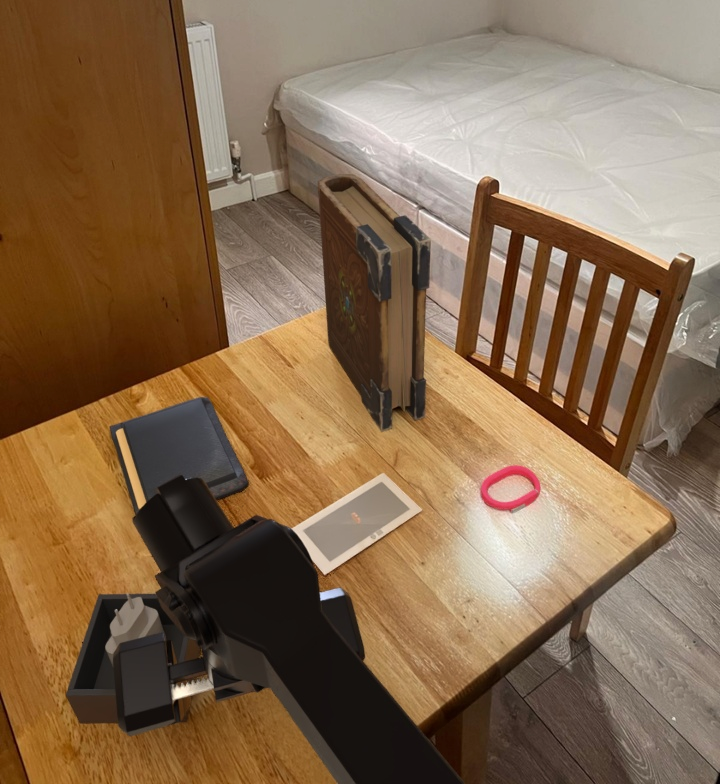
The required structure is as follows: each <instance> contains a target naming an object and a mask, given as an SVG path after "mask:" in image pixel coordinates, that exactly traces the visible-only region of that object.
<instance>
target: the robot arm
mask: <svg viewBox="0 0 720 784" xmlns="http://www.w3.org/2000/svg"><path fill="white" fill-rule="evenodd" d="M131 521H132V524H133V525H134V528H135V529H136V531H137V533H138V534H139V536H140V538H141V539H142V541H143V544H144V545H145V547H146V548H147V550H148V552H149V554H150V555H151V557H152V558H153V560H154V562H155V564H156V566H157V567H158V569H159V571H160V572H158V573H156V574H155V575H154V578H155V580H156V582H157V585H158V586H159V588H160V589H158V590H156V591H155V592H154V594H156V595H157V598H158V600H159V603H160V605H161V607H162V609H163V610H164V611H165V613H166V614H167V615H168V616H169V618H170V619H171V620H172V621H173V623H174V624H175V625H176V626H177V628H178V629H179V630H180V631H181V633H182V634H183V635H184V636H185V637H186V638H189V639H193V640H194V641H195V643H196V645H197V646H198V647H200V646H201V649H200V650H201V654H202V656H199V658H196V659H192V660H189V661H185V662H181V663H177V660H176V657H175V653H174V649H173V645H172V642H171V640H167V641H166V635H165V632H161V633H158V634H154V635H150V636H146V637H142V638H138V639H134V640H130V641H126V642H122V643H120V644H119V645H118V647H117V648H116V650H115V651H114V653H113V668H114V682H115V695H116V709H117V719H118V723H117V725H118V728H119V729H120V730H121V731H122V732H123V733H125V734H126V735H127V736H129V737H134V736H137V735H140V734H143V733H147V732H152V731H155V730H159V729H162V728H164V727H165V728H166V727H168V726H172V725H175V724H178V723H179V724H180V723H182V722H181V720H182V719H183V717H184V715H185V714H186V712H187V710H188V708H189V707H191V705H192V697H193V696H197V695H200V694H203V693H207V692H210V691H214V692H213V693H214V699H215V703H217V704H218V703H221V702H223V701H227V700H231V699H234V698H238V697H241V696H246V695H248V694H252V693H257V694H258V693H260V692H262V691H263V690H266V689H269V690H271V692H272V693H273V695H274V696H275V697H276V698H277V700H278V701H279V702H280V704H281V705H282V706H283V708H284V709H285V711H286V712H287V714H288V715H289V716H290V718H291V719H292V721H293V722H294V723H295V725H296V727H297V728H298V729H299V731H300V732H301V734H302V735H303V737H304V738H305V740H306V741H307V742H308V744H309V745H310V747H311V748H312V749H313V751H314V752H315V754H316V755H317V757H318V758H319V759H320V761H321V763H322V764H323V765H324V767H325V768H326V770H327V772H329V773H330V775H331V777H332V778H333V779H334V781H335V782H336V783H337V784H466V782H465V781H464V780H463V778H462V777H461V776H460V775H459V774H458V773H457V772H456V770H455V769H454V768H453V767H452V766H451V765H450V763H449V762H448V761H447V759H446V758H445V757H444V756H443V755H442V753H441V752H440V751H439V750H438V749H437V748H436V746H435V745H434V744H433V743H432V742H431V740H430V739H429V738H428V737H427V736H426V734H425V733H424V732H423V731H422V729H420V727H419V726H418V725H417V724H416V722H414V720H413V719H412V718H411V717H410V715H409V714H408V713H407V712H406V711H405V709H404V708H403V707H402V706H401V705H400V703H399V702H398V701H397V700H396V699H395V697H393V695H392V693H390V692H389V690H388V689H387V688H386V686H385V685H384V684H383V683H382V682H381V681H380V680H379V679H378V677H377V676H376V675H375V673H374V672H373V671H372V670H371V668H369V666H368V665H367V664H366V663H365V662H364V661H365V659H366V651H365V644H364V641H363V638H362V633H361V630H360V626H359V623H358V619H357V614H356V612H355V608H354V607H355V606H354V604H353V599H352V597H351V595H350V593H349V592H348V591H347V590H345V589H344V588H343V587H341V586H340V587H337V588H332V589H329V590H324V591H321V590H320V582H319V574H318V570H317V569H316V568H315V565H314V562H313V561H312V559H311V557H310V555H309V552H308V550H307V548H306V547H305V545H304V544H303V542H302V540H301V539H300V538H299V536H298V535H297V534H296V533H295V532H294V531H293V530H292V527H289V526H288V525H285V524H282V523H279V522H278V521H277V520H274V519H272V518H266V517H264V516H262V515H259V514H255V515H253V516H251V517H250V518H248V519H246V520H245V521H243V522H242V523H240V524H238V525H236V526H234V525H233V523H232V522H231V521H230V518H228V515H227V514H226V513H225V511H224V510H223V508H222V506H221V505H220V503H219V502H218V500H216V499H215V497H214V496H213V494H212V492H211V491H210V489H209V488H208V486H207V485H206V483H205V482H204V480H203V479H202V478H198V477H194V478H188V479H185V478H184V477H183V475H182V474H180V475H178V476H176V477H174V478H173V479H171V480H169V481H167V482H165V483H163V484H161V485H160V486H158V487H157V494H156V495H154V496H153V497H152V498H151V499H150V500H148V501H147V502H146V503H145V504H144V505H143V506H142V507H141V509H140V510H139V511H138V513H137V514H136V515H135V514H134V515H133V517H132V520H131ZM205 676H207V678H206V677H205ZM200 677H202V678H201V679H200ZM193 678H195V679H196V678H197V679H196V681H194V680H192V683H191V685H190V684H189V682H188V681H187V680H189V679H193ZM191 696H192V697H191ZM189 709H190V708H189Z"/></svg>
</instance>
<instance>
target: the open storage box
mask: <svg viewBox="0 0 720 784" xmlns="http://www.w3.org/2000/svg"><path fill="white" fill-rule="evenodd" d="M126 594H127V593H99V594H98V595H97V599H96V602H95V604H94V607H93V611H92V614H91V616H90V620H89V623H88V626H87V628H86V632H85V634H84V638H83V641H82V644H81V647H80V650H79V653H78V656H77V658H76V662H75V666H74V668H73V671H72V674H71V678H70V680H69V683H68V686H67V690H66V692H65V697H66V699H67V701H68V703H69V705H70V707H71V709H72V712H73V713H74V715H75V717H76V719H77V721H78V724H118V719H117V709H116V695H115V682H114V668H113V666H112V663H111V661H110V658H109V656H108V654H107V651H106V648H105V646H106V644H107V642H108V641H109V639H110V638H111V636H112V633H111V630H110V624H111V622H112V621H113V620H114V618H115V617H116V613H115V610H116V609H117V610H118V612H119V611H120V610H121V608H122V607H123V605H124V604H125V603H126V602H127V601H128V598H127V595H126ZM129 595H130V597H131V599H134V598H137V597H141V598H142V601H143V604H144V605H145V606H147V607H150V608H153V609H155V610H156V611H157V612H158V615H159V618H160V621H161V624H162V627H163V631H164V632H165V635H166V640H171V642H172V645H173V649H174V653H175V657H176V660H177V663H181V662H185V661H189V660H192V659H196V658H200V655H201V650H202V649H201V646H200V647H198V646H197V645H196V643H195V641H194V640H193V639H189V638H186V637H185V636H184V635H183V634H182V633H181V631H180V630H179V629H178V628H177V626H176V625H175V624H174V623H173V621H172V620H171V619H170V618H169V616H168V615H167V614H166V613H165V611H164V610H163V609H162V607H161V605H160V603H159V600H158V598H157V595H156V593H129ZM192 680H194V682H196V681H195V680H196V678H193V679H189V680H187V681H188V682H189V684H190V685H191V683H192ZM192 697H193V696H191V698H192ZM190 707H191V706H190ZM190 707H189V708H188V710H187V712H186V714H185V715H184V717H183V719H182V720H181V722H180V723H187V722H188V717H189V713H190Z"/></svg>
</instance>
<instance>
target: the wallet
mask: <svg viewBox="0 0 720 784" xmlns="http://www.w3.org/2000/svg"><path fill="white" fill-rule="evenodd" d="M109 431H110V436H111V439H112V442H113V444H114V448H115V450H116V454H117V458H118V461H119V464H120V468H121V471H122V473H123V474H122V475H123V478H124V480H125V484H126V488H127V491H128V495H129V498H130V501H131V504H132V509H133V511H134V516H135V515H136V514H137V513H138V511H139V510H140V509H141V507H142V506H143V505H144V504H145V503H146V502H147V501H148V500H150V499H151V498H152V497H153V496H154V495H156V494H157V487H158V486H160V485H161V484H163V483H165V482H167V481H169V480H171V479H173V478H174V477H176V476H178V475H180V474H182V475H183V477H184V478H185V479H188V478H194V477H198V478H202V479H203V480H204V482H205V483H206V485H207V486H208V488H209V489H210V491H211V492H212V494H213V496H214V497H215V499H216V500H217V501H219V500H222V499H225V498H228V497H230V496H232V495H233V496H234V495H235V494H237V493H241V492H242V491H244V490H245V489H246V488H248V487H249V486H250V483H249V479H248V477H247V475H246V472H245V470H244V469H243V466H242V464H241V462H240V460H239V458H238V456H237V454H236V452H235V450H234V448H233V446H232V444H231V442H230V440H229V438H228V436H227V434H226V432H225V429H224V427H223V425H222V423H221V420H220V418H219V416H218V414H217V412H216V409H215V407H214V405H213V403H212V401H211V400H210V398H209V397H208V396H198V397H195V398H192V399H188V400H186V401H182V402H179V403H176V404H174V405H170V406H168V407H167V406H166V407H164V408H162V409H159V410H156V411H151V412H149V413H146V414H143V415H140V416H137V417H134V418H131V419H127V420H124V421H121V422H119V423H115V424H113V425H109Z"/></svg>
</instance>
